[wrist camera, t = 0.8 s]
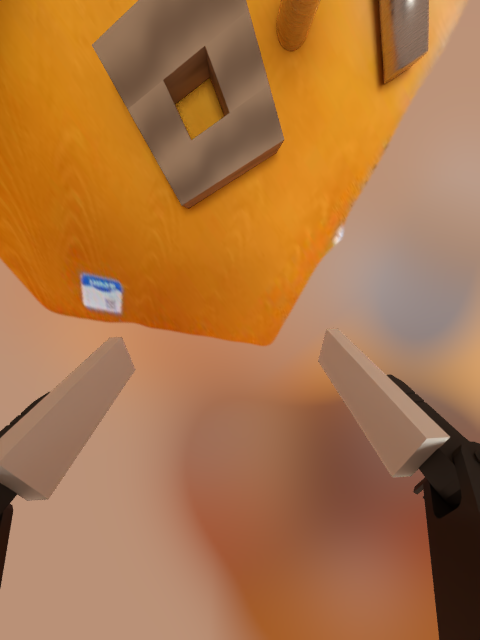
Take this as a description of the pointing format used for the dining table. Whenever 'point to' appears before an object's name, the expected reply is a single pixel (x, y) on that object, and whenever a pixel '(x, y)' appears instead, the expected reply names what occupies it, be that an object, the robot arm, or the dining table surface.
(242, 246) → the dining table surface
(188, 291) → the dining table surface
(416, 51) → the lying peg
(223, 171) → the socket block
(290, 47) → the peg
